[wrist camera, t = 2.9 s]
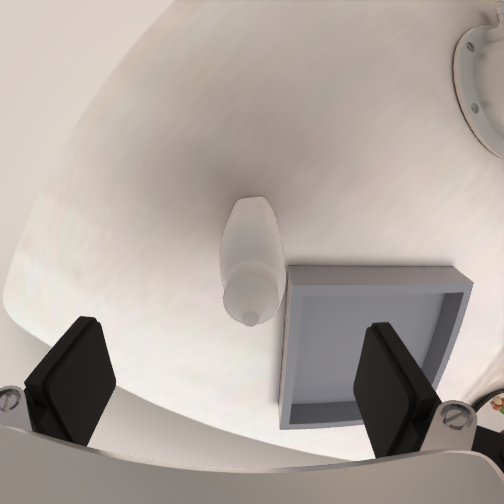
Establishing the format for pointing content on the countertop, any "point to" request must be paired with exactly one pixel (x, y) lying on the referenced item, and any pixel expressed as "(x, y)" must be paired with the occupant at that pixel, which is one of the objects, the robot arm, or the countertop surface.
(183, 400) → the countertop surface
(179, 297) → the countertop surface
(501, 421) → the spread jar
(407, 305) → the dish
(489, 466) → the robot arm
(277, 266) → the eye dropper bottle
